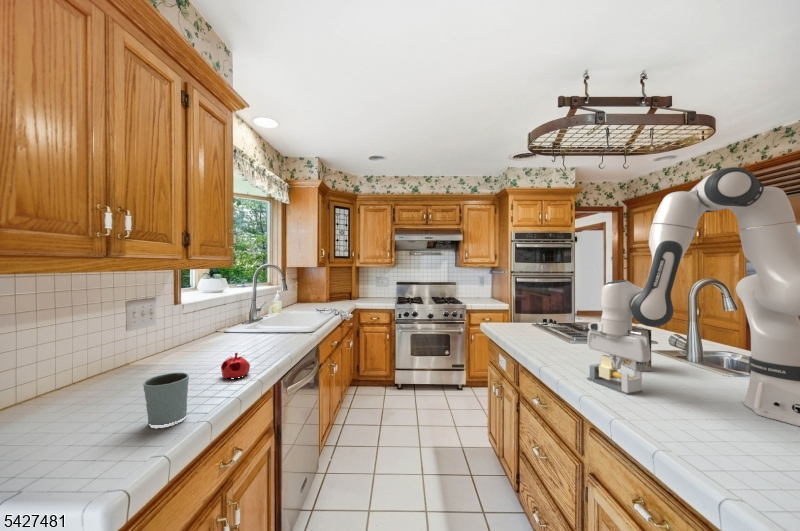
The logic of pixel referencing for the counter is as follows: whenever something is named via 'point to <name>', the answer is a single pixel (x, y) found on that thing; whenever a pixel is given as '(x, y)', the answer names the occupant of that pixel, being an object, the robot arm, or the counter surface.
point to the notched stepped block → (606, 368)
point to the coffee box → (634, 364)
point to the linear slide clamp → (627, 385)
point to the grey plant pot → (166, 398)
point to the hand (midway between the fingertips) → (617, 368)
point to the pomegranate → (235, 367)
